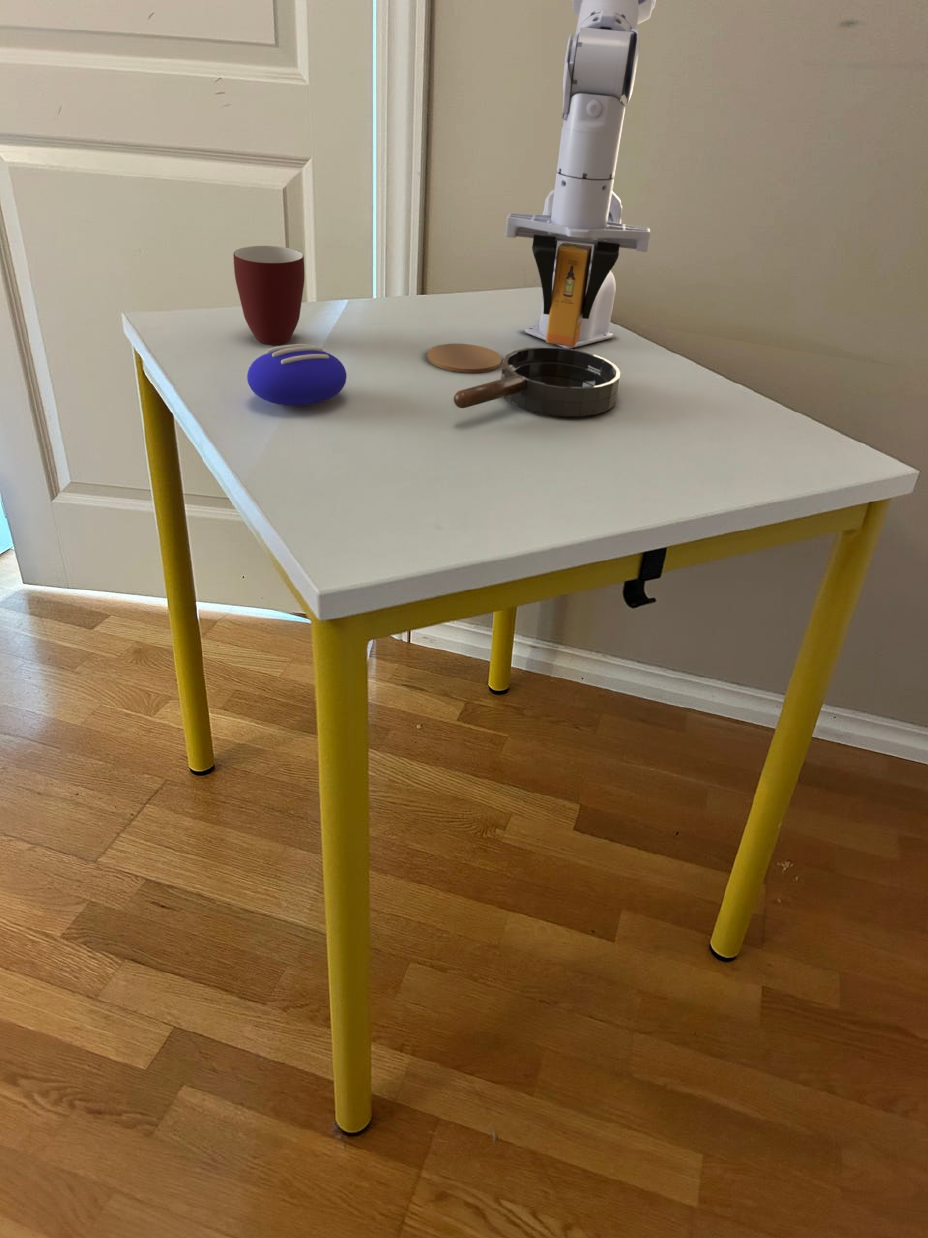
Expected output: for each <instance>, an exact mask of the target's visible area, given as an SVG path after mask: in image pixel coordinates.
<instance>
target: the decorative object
mask: <svg viewBox="0 0 928 1238" xmlns="http://www.w3.org/2000/svg"><path fill="white" fill-rule="evenodd" d="M347 376H348V375H347V371H346V368H345V366H344V364H343V363H342V362H341V361H340V360H339V358H338V357H336V356H335V355H333V354H331V353H329V352H326V351H324V350H323V348H322V347H320V346H314V345H312V344H308V343H295V344H293V343H292V344H285V345H284V344H283V345H279V346H278V345H277V346H274V347H271V348H268V349H267V350H265V353H264V354H262V355H259V357H257V358H256V359H254V361H253V362H252V363H251V364H250V366H249V367H248V370H247V375H246V379H247V384H248V386H249V388H250V390H251V391H252V393H254V394H255V396H257V397H259V398H260V399H261V400H264V401H266V402H268V403H271V404H275V405H279V406H289V407H301V406H302V407H303V406H311V405H316V404H320V403H323V402H326V401H328V400H330V399H333V398H334V397H336V396H337V395H339V394H340V392H341V391H342V390H343V389H344V387H345V385H346V382H347Z"/></svg>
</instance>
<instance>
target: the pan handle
mask: <svg viewBox="0 0 928 1238" xmlns="http://www.w3.org/2000/svg"><path fill="white" fill-rule="evenodd" d="M525 386H526V382H525V379H524V378H523V377H522V376H520V375H515V376H512V377H508V378H504V379H501V378H500V379H498V380H494V381H490V382H486V383H482V384H479V385H475V386H471V387H468V388H463V389H460V390H458V391H456V393H455V394H454V396H453V403H454V405H455V406H456V407H457V408H459V409H467V408H470V407H473V406H477V405H480V404H484V403H487V402H491V401H495V400H497V399H501V398H506V397H505V396H509V395H512V394H515V393H519V392H521V391H523V390H524V388H525Z"/></svg>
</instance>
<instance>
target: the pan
mask: <svg viewBox="0 0 928 1238" xmlns="http://www.w3.org/2000/svg"><path fill="white" fill-rule="evenodd" d="M515 375H520V376H522V377H523V378H524V379H525V382H526V386H525V388H524V390H523V391H521V392H519V393H515V394H512V395H509V396H505V397H504V398H506V399H507V400H508V401H509V402H511V403H513V404H514V405H515V406H518V407H520V408H522V409H525V410H527V411H530V412H532V413H536V414H540V415H544V416H551V417H558V418H584V417H590V416H595V415H598V414H601V413H604V412H606V411H608V410H610V409H611V408H612V407H613V406H615V405H616V401H617V394H618V391H619V390H618V388H619V383H620V378H621V370H620V369H619V368H618V366H617V365H616V364H615V363H613V362H611V361H610V360H609V359H607V358H605V357H602V356H599V355H598V354H594V353H591V352H587V351H583V350H579V349H573V348H570V349H568V348H564V347H561V346H533V347H524V348H520V349H516V350H513V351H511V352H510V353H508V354H506V355H505V356H504V358H503V361H502V364H501V376H500V380H501V379H504V378H508V377H512V376H515Z"/></svg>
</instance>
